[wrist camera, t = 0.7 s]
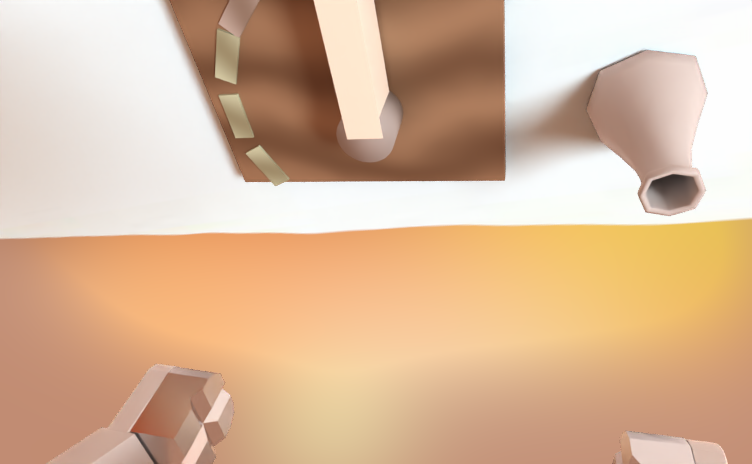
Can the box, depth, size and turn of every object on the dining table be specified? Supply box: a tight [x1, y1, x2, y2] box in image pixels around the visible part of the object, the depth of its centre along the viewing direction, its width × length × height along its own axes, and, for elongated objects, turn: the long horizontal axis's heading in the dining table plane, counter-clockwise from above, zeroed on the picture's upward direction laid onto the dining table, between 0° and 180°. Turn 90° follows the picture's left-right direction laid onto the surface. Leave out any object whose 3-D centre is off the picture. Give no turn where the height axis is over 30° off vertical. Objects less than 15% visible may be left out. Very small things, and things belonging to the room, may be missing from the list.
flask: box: [586, 50, 708, 216], centre depth 32 cm, size 7×7×10 cm
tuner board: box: [170, 0, 505, 186], centre depth 37 cm, size 19×22×2 cm
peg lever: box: [314, 0, 403, 162], centre depth 34 cm, size 14×4×4 cm, turn 10°
